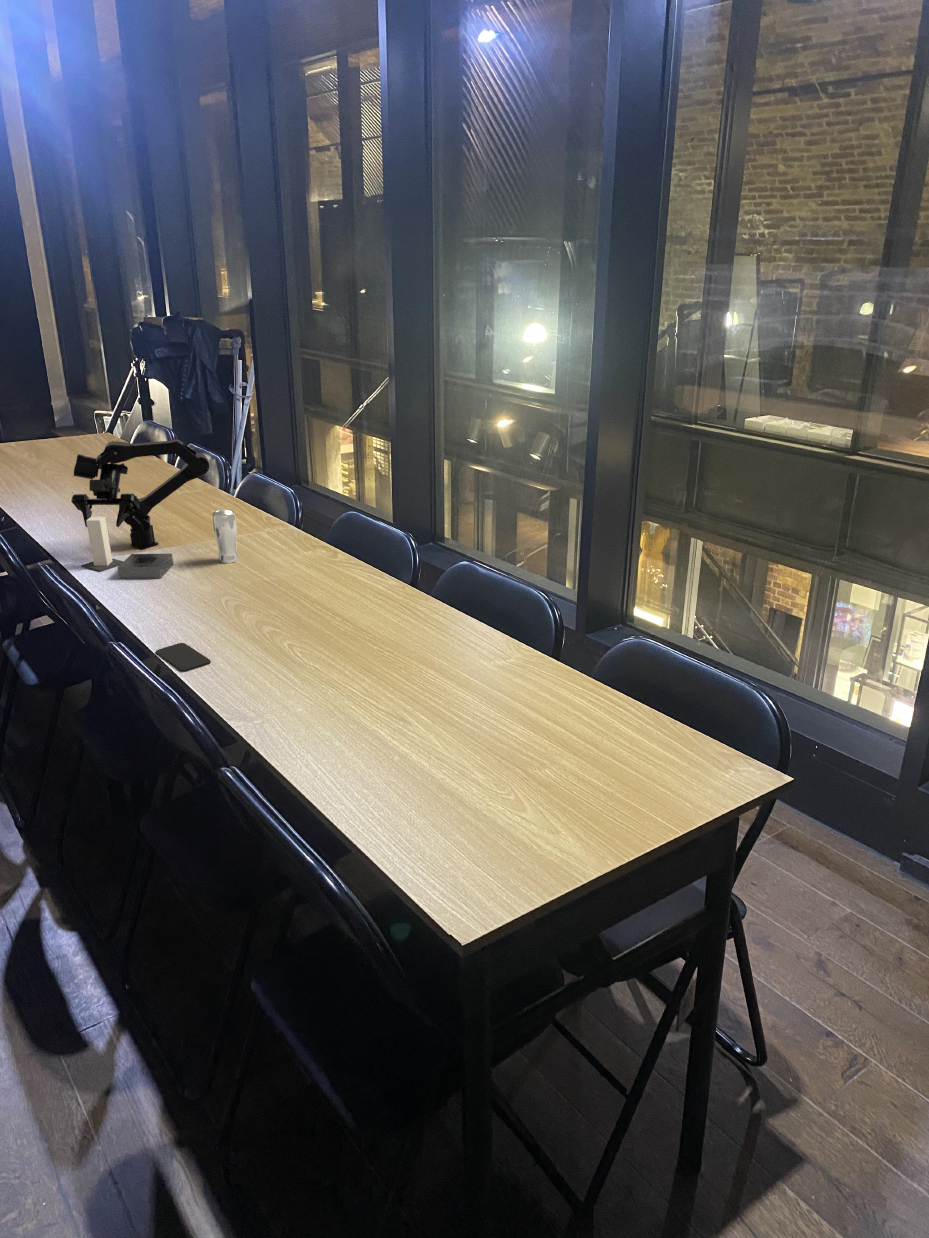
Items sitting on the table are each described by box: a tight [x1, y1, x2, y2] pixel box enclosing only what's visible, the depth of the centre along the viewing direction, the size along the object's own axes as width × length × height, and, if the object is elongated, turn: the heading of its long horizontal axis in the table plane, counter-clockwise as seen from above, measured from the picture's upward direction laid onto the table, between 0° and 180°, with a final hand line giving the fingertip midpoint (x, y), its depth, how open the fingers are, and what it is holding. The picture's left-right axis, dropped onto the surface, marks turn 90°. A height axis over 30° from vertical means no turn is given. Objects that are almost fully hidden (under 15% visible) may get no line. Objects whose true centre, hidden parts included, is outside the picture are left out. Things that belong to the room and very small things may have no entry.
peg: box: [86, 516, 113, 566], centre depth 261 cm, size 4×4×14 cm
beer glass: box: [211, 509, 240, 564], centre depth 265 cm, size 7×7×15 cm
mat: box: [80, 557, 125, 573], centre depth 264 cm, size 9×9×1 cm
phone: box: [155, 642, 212, 673], centre depth 203 cm, size 7×1×15 cm
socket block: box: [117, 553, 174, 580], centre depth 258 cm, size 12×12×4 cm
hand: (102, 526), depth 263 cm, fingers open, 9 cm apart
